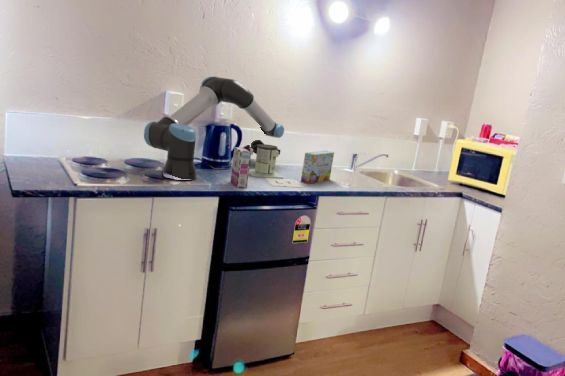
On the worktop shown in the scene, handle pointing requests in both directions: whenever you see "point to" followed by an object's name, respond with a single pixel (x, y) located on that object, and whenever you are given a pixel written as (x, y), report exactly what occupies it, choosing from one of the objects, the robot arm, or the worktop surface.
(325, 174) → the snack box
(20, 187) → the worktop surface
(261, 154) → the coffee can
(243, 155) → the candy bar box
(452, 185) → the worktop surface
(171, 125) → the robot arm
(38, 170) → the worktop surface
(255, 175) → the sage board
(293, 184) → the tile
